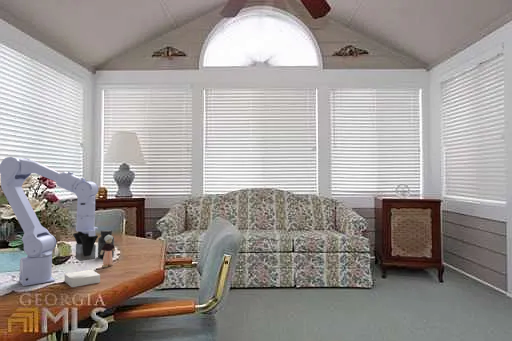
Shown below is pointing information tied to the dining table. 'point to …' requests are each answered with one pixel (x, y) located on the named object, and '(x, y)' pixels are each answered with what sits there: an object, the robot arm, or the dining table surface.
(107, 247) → the grandmother figurine
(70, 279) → the cream base block
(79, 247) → the slate block
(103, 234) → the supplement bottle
